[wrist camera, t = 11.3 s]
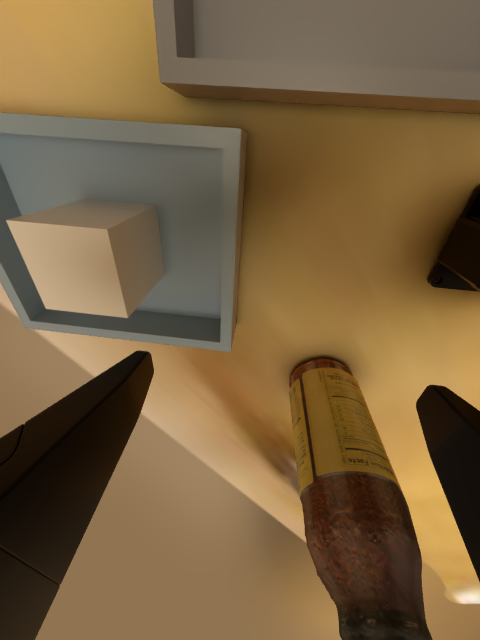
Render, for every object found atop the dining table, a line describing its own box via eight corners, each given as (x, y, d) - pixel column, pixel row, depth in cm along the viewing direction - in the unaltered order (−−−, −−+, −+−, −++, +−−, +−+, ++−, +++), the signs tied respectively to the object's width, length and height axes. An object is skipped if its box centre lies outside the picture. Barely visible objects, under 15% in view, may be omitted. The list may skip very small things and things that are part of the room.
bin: (247, 132, 14) (241, 128, 11) (236, 324, 22) (230, 351, 19) (-24, 114, 15) (-94, 106, 12) (56, 304, 23) (24, 328, 20)
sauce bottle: (315, 406, 27) (380, 794, 11) (275, 376, 25) (279, 792, 9) (370, 378, 24) (577, 864, 8) (329, 341, 22) (486, 884, 6)
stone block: (156, 205, 17) (107, 229, 12) (164, 275, 19) (127, 318, 15) (83, 198, 17) (5, 220, 12) (102, 268, 20) (45, 308, 15)
